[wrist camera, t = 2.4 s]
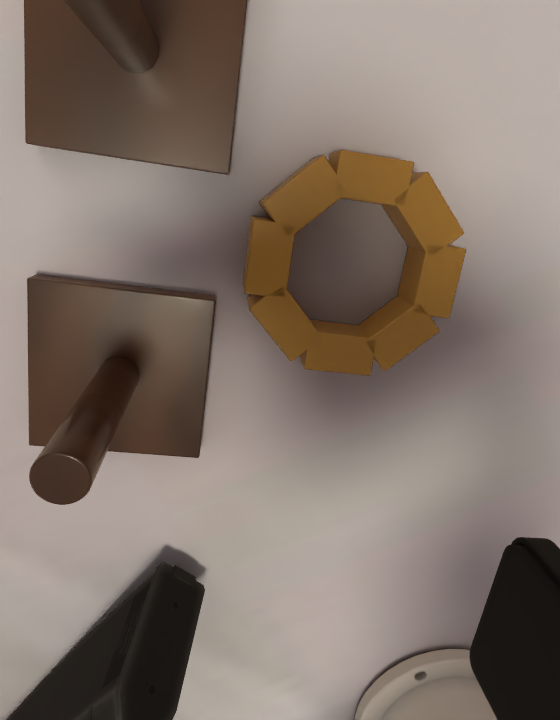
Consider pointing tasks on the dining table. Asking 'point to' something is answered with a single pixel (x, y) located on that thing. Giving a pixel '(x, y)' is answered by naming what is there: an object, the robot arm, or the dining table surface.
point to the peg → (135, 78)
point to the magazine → (127, 658)
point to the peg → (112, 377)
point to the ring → (419, 277)
